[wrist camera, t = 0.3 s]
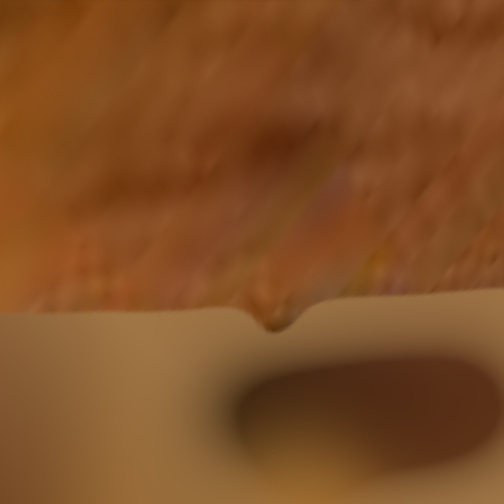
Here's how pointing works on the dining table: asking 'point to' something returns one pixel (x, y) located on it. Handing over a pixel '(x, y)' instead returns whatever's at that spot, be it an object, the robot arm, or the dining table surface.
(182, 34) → the dining table surface
